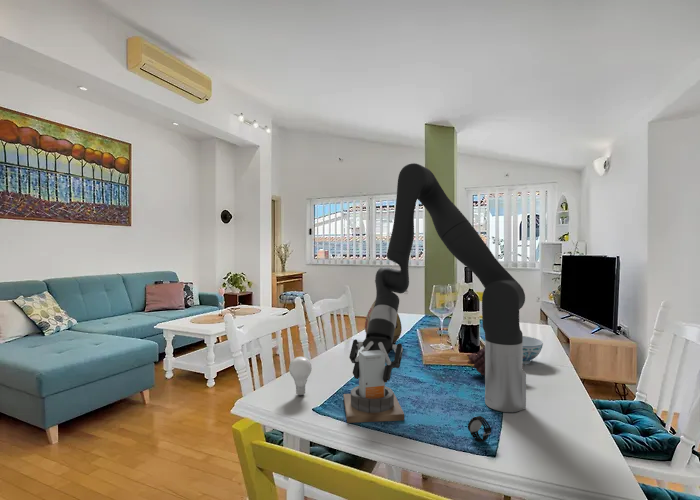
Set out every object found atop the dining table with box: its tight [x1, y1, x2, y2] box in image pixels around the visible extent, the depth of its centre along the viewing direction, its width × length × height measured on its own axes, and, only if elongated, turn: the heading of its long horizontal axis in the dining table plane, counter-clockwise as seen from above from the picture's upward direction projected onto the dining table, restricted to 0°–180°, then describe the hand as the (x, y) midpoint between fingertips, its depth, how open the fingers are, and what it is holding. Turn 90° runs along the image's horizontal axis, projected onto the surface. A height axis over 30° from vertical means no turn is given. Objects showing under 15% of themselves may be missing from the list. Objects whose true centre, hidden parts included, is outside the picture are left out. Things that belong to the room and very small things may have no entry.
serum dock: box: [343, 385, 405, 424], centre depth 100 cm, size 14×14×4 cm
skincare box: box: [358, 350, 386, 399], centre depth 100 cm, size 6×4×12 cm
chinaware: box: [523, 335, 544, 365], centre depth 140 cm, size 15×15×8 cm
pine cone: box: [466, 347, 485, 376], centre depth 123 cm, size 18×10×10 cm, turn 57°
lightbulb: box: [288, 356, 313, 397], centre depth 109 cm, size 6×6×11 cm
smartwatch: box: [467, 415, 492, 443], centre depth 84 cm, size 4×5×5 cm
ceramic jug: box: [364, 281, 402, 345], centre depth 161 cm, size 17×15×30 cm
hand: (370, 379), depth 99 cm, fingers closed on skincare box, 7 cm apart
